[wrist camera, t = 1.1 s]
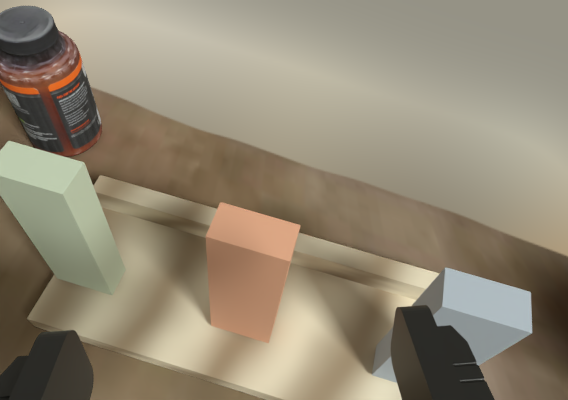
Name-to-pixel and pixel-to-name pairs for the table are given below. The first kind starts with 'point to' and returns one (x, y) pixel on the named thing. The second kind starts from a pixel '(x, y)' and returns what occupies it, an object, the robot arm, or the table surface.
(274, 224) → the orange rectangular block
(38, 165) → the pale green block
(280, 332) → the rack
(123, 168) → the table surface
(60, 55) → the supplement bottle
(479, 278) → the light blue tall bar
